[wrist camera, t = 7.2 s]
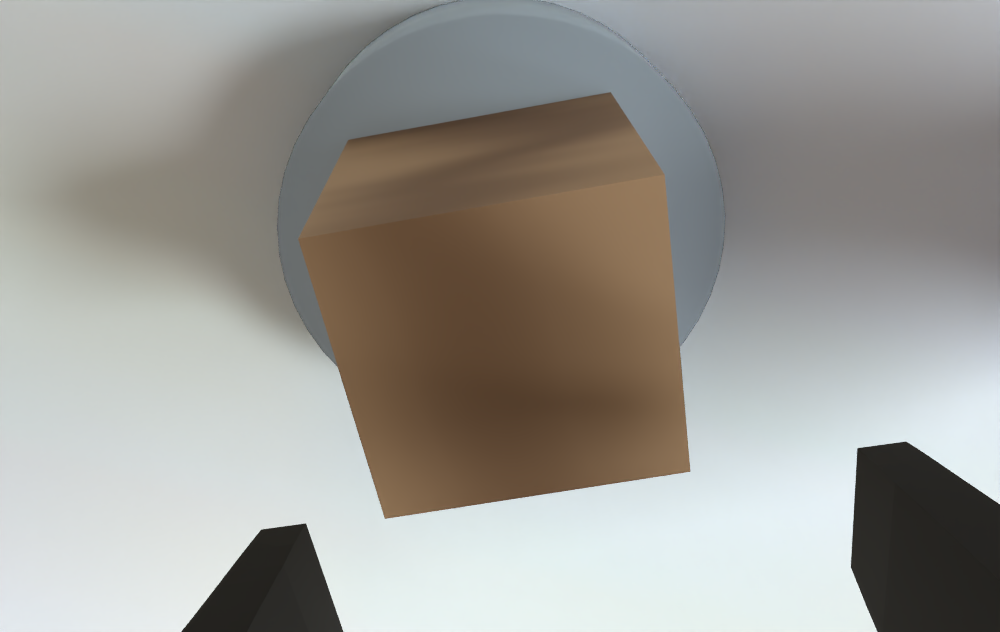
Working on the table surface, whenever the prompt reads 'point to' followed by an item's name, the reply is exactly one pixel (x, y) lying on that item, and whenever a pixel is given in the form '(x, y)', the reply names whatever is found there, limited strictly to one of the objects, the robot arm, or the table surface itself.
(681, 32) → the table surface
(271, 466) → the table surface
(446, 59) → the platform
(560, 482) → the cube
